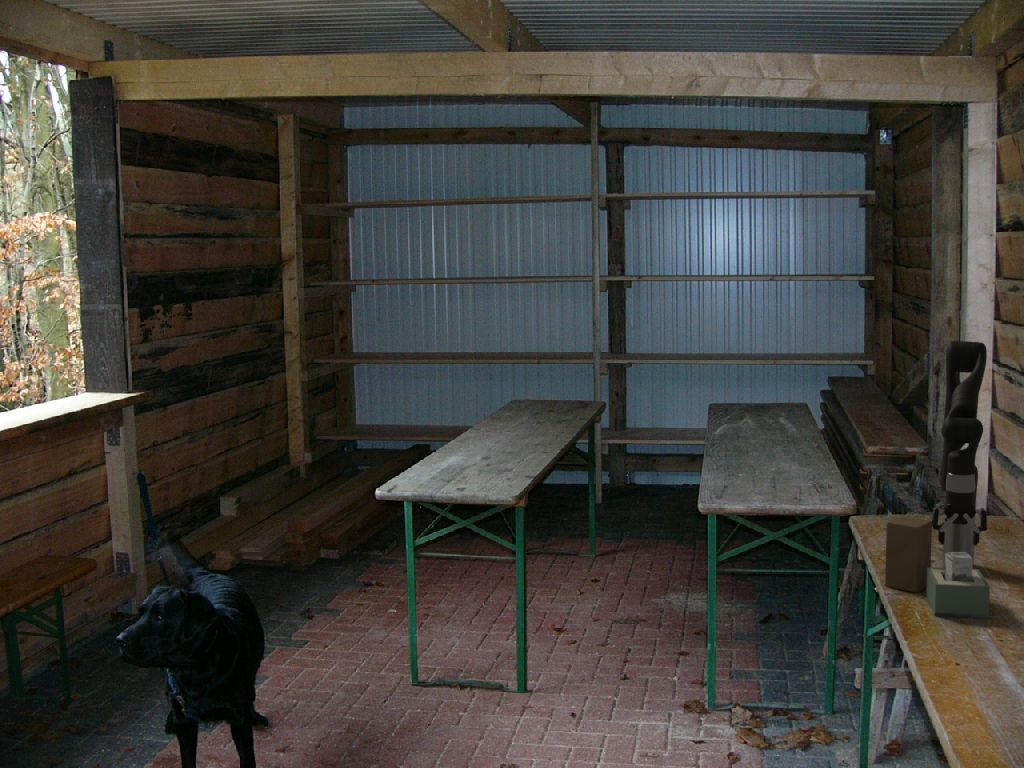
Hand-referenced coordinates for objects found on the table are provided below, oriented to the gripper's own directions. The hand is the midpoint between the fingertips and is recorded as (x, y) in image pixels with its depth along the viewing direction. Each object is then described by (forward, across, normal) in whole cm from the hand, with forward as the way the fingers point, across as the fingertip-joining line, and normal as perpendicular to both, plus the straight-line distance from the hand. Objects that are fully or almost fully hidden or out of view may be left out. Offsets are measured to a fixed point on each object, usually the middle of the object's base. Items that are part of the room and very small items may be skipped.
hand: (958, 544), depth 316 cm
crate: (+18, 0, 0) cm, 18 cm away
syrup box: (+18, 0, 0) cm, 18 cm away
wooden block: (+19, +11, -18) cm, 28 cm away
